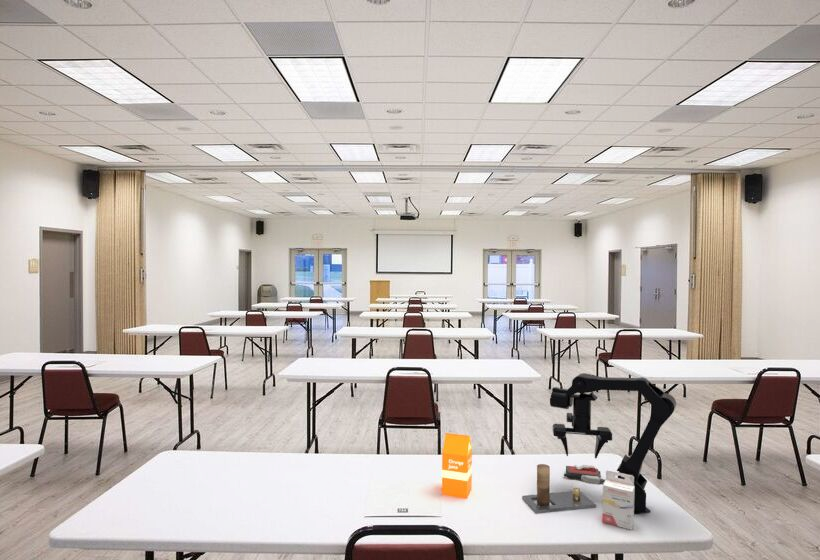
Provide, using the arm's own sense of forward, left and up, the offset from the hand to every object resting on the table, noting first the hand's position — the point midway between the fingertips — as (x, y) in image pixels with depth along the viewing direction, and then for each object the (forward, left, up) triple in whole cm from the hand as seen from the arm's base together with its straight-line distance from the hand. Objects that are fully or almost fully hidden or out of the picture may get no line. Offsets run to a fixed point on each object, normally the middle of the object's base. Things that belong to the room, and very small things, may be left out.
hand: (581, 456), depth 165 cm
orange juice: (+10, +41, -13) cm, 44 cm away
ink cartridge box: (-19, -1, -13) cm, 23 cm away
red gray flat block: (+11, -11, -14) cm, 20 cm away
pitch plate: (-4, +10, -13) cm, 17 cm away
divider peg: (-4, +16, -13) cm, 21 cm away
